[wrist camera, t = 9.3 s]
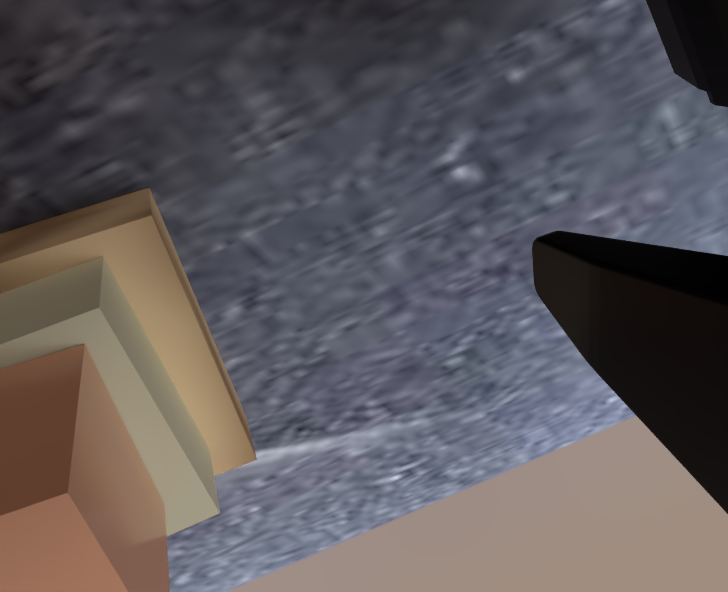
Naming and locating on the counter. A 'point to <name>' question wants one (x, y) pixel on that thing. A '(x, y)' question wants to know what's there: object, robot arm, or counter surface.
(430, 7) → the counter surface
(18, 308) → the tower top
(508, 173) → the counter surface
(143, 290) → the tower base
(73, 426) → the terracotta brick
